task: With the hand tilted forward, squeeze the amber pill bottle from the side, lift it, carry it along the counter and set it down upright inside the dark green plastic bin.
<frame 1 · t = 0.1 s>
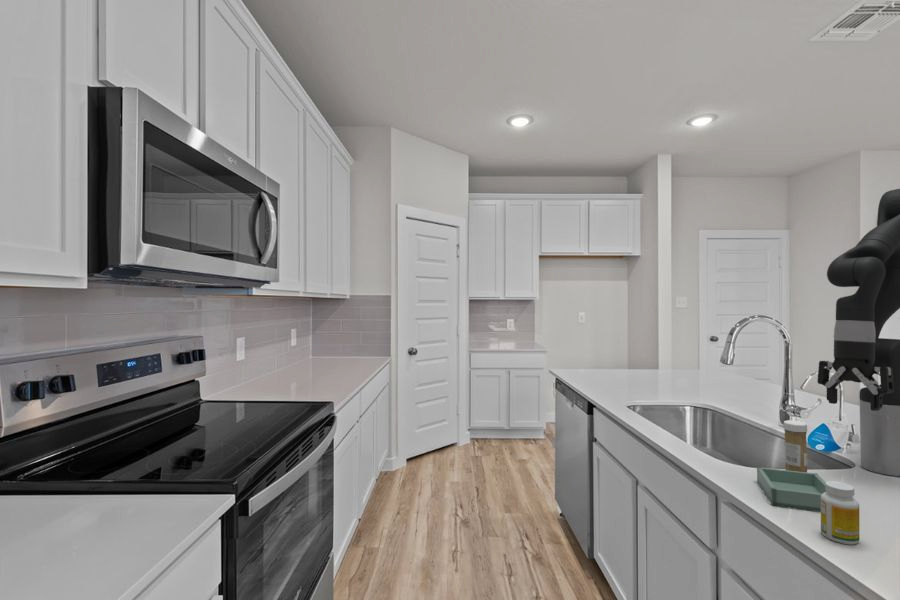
hand: (853, 406, 109), 17 cm above the countertop, tool pointing down, fingers open, 8 cm apart
amber pill bottle: (796, 477, 111), on the countertop
supplement bottle: (840, 538, 82), on the countertop
bin: (795, 496, 100), on the countertop
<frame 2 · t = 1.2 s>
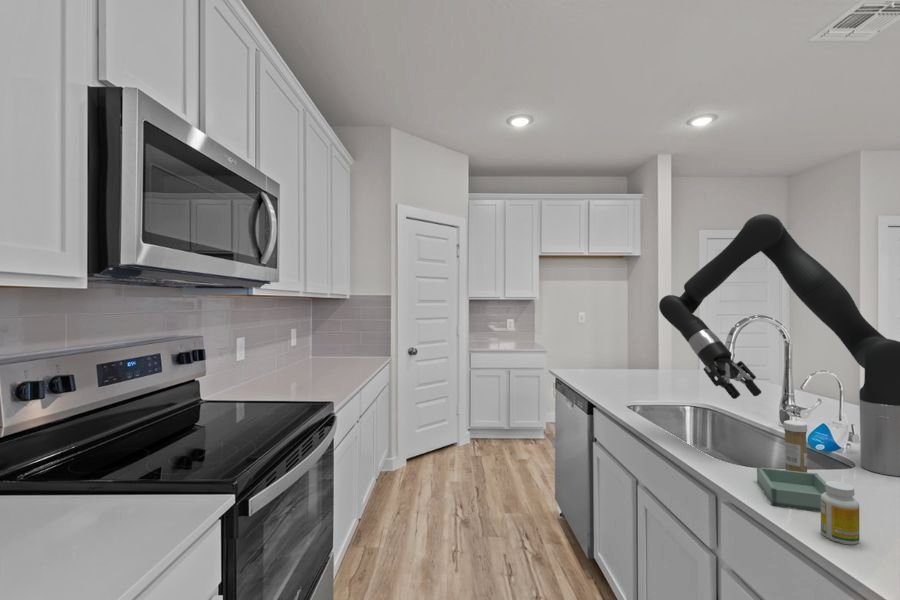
hand: (747, 395, 121), 18 cm above the countertop, tool tilted 45°, fingers open, 8 cm apart
nothing on the countertop moved.
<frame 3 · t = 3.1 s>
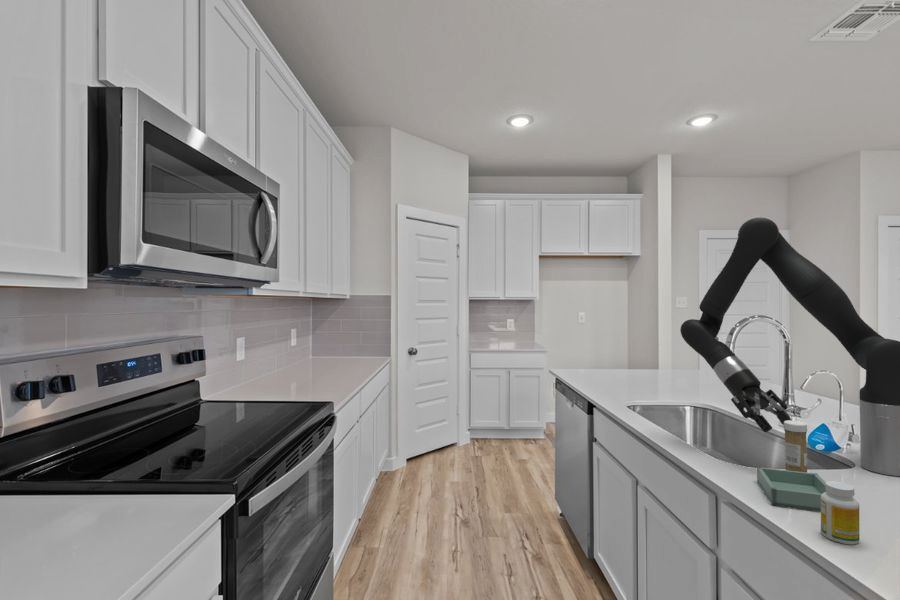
hand: (780, 428, 114), 11 cm above the countertop, tool tilted 45°, fingers open, 8 cm apart
nothing on the countertop moved.
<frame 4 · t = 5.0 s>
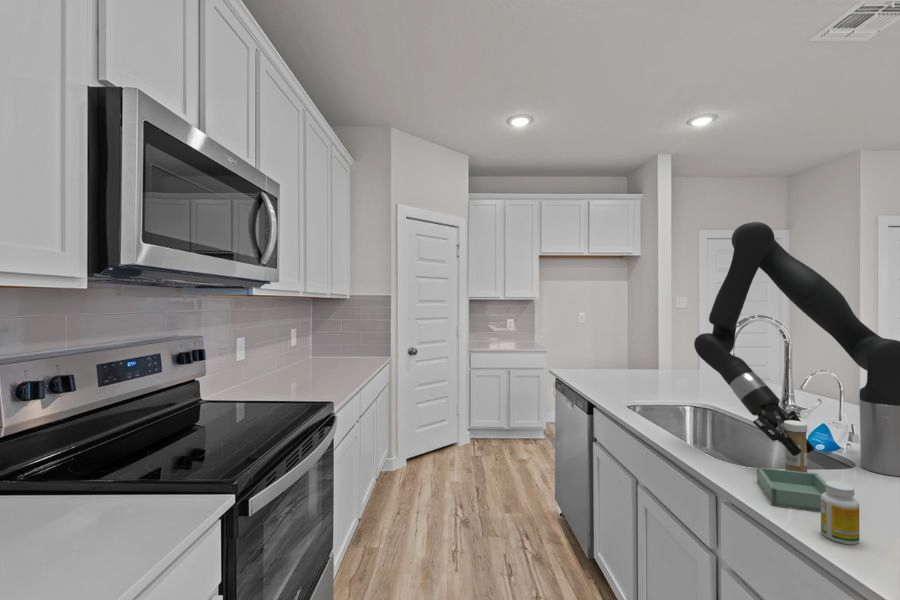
hand: (804, 452, 109), 7 cm above the countertop, tool tilted 45°, fingers closed on amber pill bottle, 4 cm apart
amber pill bottle: (796, 477, 111), on the countertop, touching gripper
everything else where it was.
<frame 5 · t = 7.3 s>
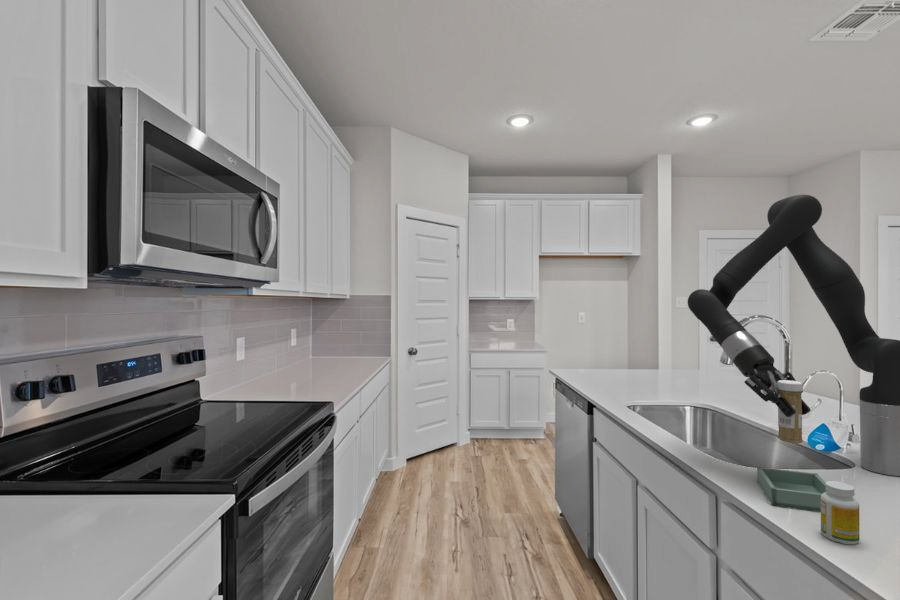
hand: (799, 413, 100), 18 cm above the countertop, tool tilted 45°, fingers closed on amber pill bottle, 4 cm apart
amber pill bottle: (789, 441, 102), point 11 cm above the countertop, touching gripper
everything else where it was.
when the fingers open (9 cm above the countertop, at t = 9.6 s): amber pill bottle drops 1 cm, resting on bin.
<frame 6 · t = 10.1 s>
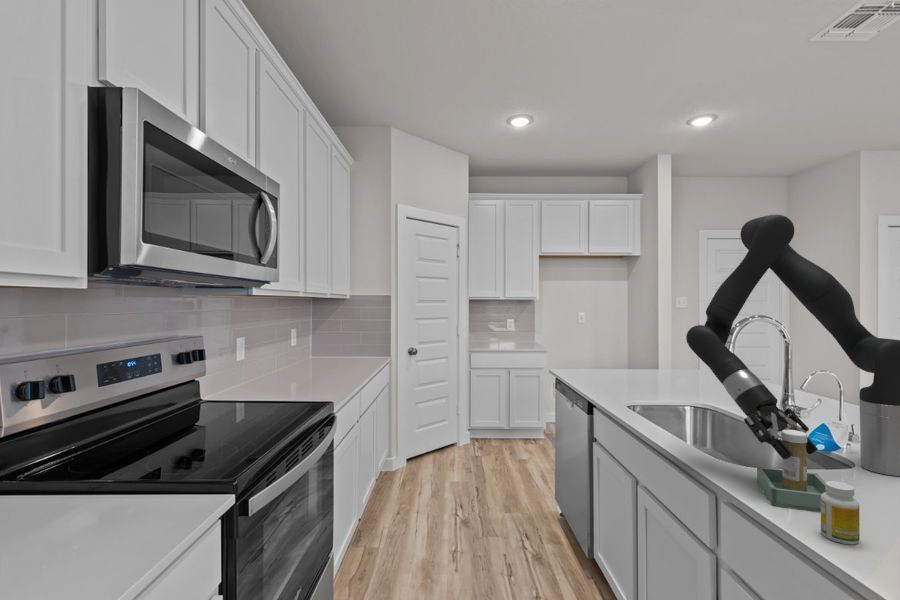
hand: (801, 454, 98), 10 cm above the countertop, tool tilted 45°, fingers open, 8 cm apart
amber pill bottle: (794, 493, 100), point 1 cm above the countertop, touching bin
everything else where it was.
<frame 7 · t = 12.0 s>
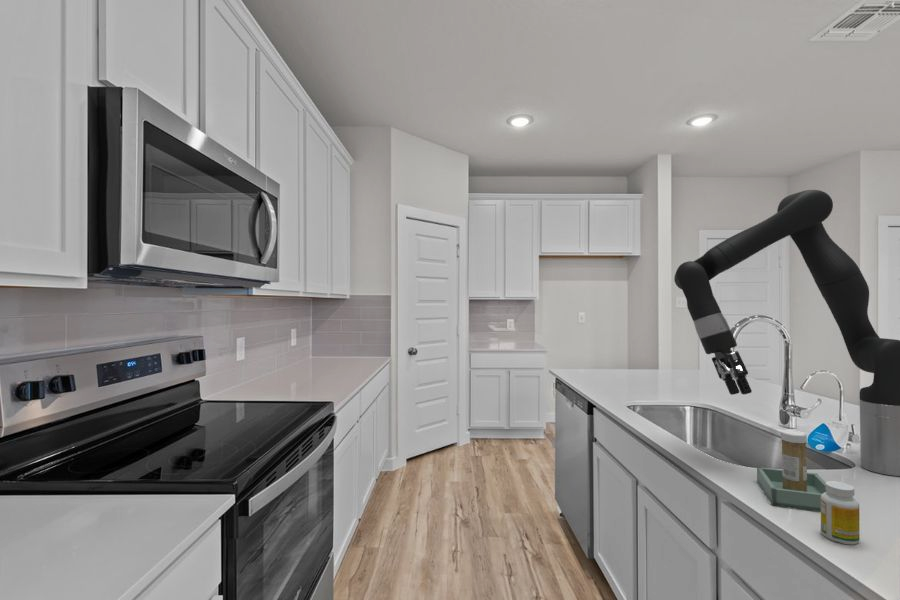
hand: (741, 393, 115), 20 cm above the countertop, tool tilted 20°, fingers open, 8 cm apart
nothing on the countertop moved.
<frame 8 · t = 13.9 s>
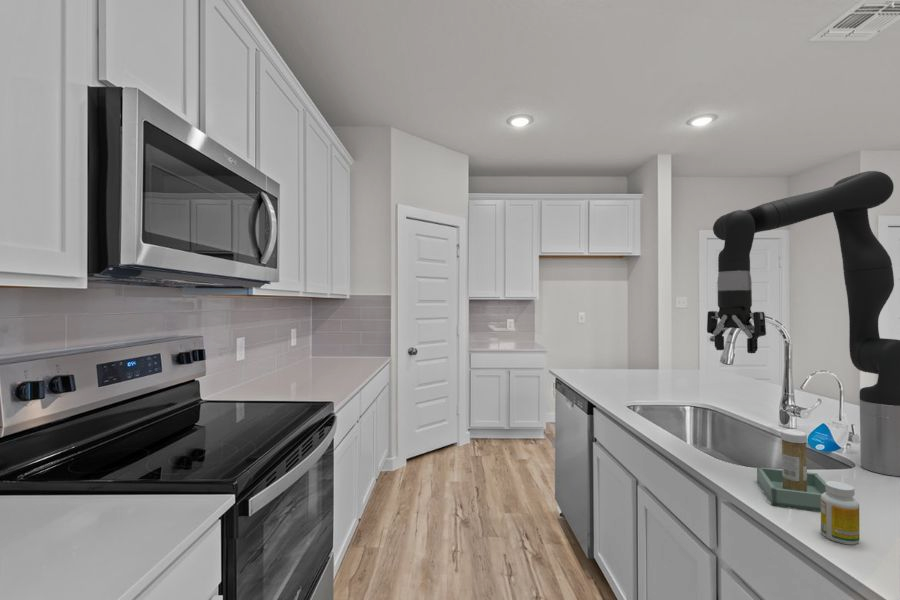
hand: (735, 351, 117), 30 cm above the countertop, tool pointing down, fingers open, 8 cm apart
nothing on the countertop moved.
at the end: amber pill bottle 0.3 cm from the bin (horizontally); amber pill bottle point 0.6 cm above the countertop; amber pill bottle tilted 0° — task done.
